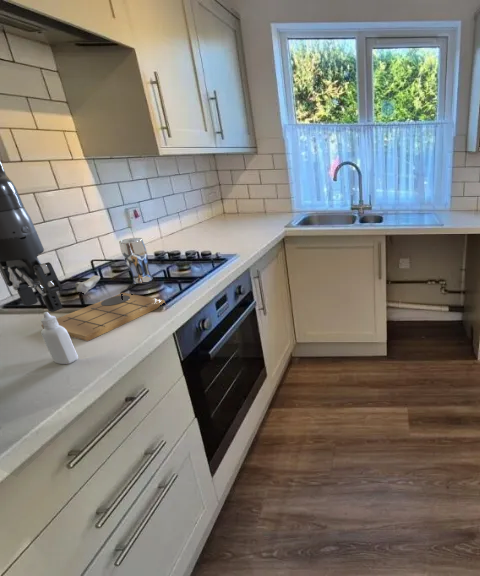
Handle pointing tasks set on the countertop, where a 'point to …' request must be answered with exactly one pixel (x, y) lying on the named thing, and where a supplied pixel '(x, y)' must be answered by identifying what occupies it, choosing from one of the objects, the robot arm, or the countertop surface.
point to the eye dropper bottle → (57, 340)
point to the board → (106, 315)
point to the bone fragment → (87, 284)
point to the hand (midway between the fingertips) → (43, 307)
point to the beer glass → (136, 259)
